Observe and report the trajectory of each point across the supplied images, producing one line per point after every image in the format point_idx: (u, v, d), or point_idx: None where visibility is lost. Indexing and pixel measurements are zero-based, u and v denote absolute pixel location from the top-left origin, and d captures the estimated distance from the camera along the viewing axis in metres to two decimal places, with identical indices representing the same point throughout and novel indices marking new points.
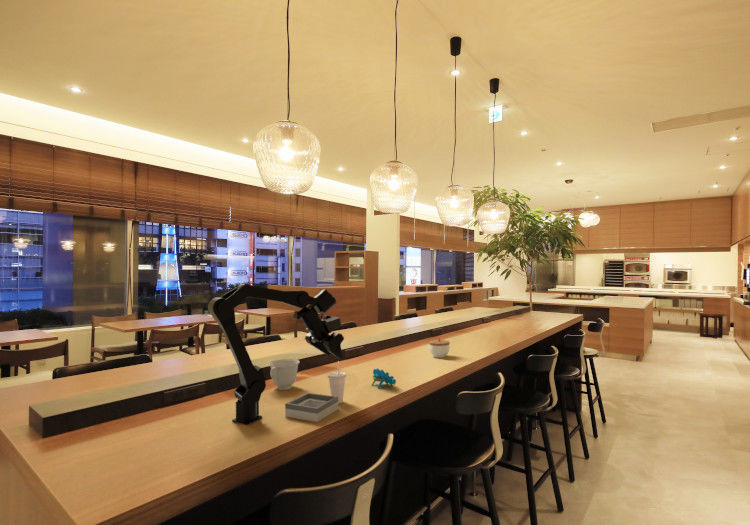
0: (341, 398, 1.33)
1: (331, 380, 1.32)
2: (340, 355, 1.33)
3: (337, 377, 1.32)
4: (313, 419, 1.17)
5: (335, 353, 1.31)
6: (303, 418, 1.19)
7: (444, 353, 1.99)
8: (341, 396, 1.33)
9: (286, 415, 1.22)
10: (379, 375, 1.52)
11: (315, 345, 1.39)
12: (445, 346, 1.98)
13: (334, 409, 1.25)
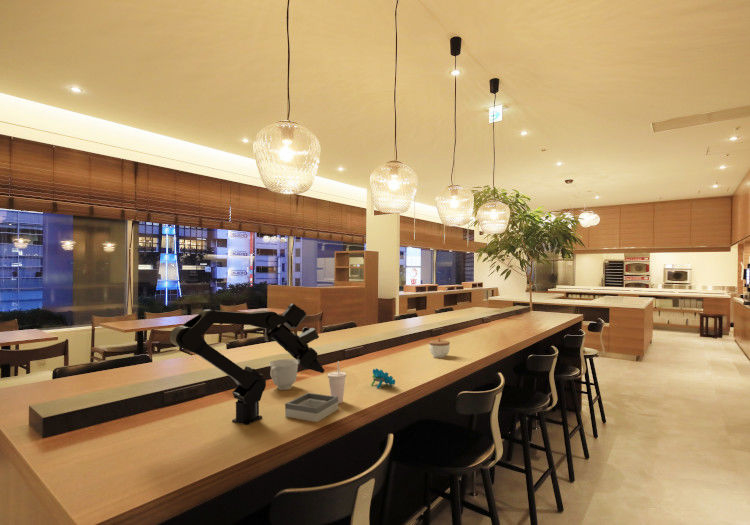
0: (341, 398, 1.33)
1: (331, 380, 1.32)
2: (320, 369, 1.27)
3: (337, 377, 1.32)
4: (313, 419, 1.17)
5: (313, 368, 1.26)
6: (303, 418, 1.19)
7: (444, 353, 1.99)
8: (341, 396, 1.33)
9: (286, 415, 1.22)
10: (379, 375, 1.52)
11: None
12: (445, 346, 1.98)
13: (334, 409, 1.25)
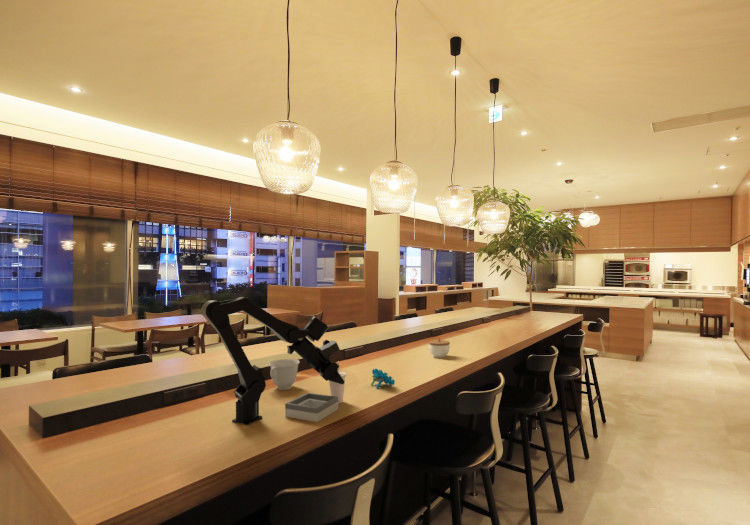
0: (341, 398, 1.33)
1: None
2: (340, 380, 1.31)
3: None
4: (313, 419, 1.17)
5: (334, 380, 1.29)
6: (303, 418, 1.19)
7: (444, 353, 1.99)
8: (341, 396, 1.33)
9: (286, 415, 1.22)
10: (378, 375, 1.52)
11: None
12: (445, 346, 1.98)
13: (334, 409, 1.25)
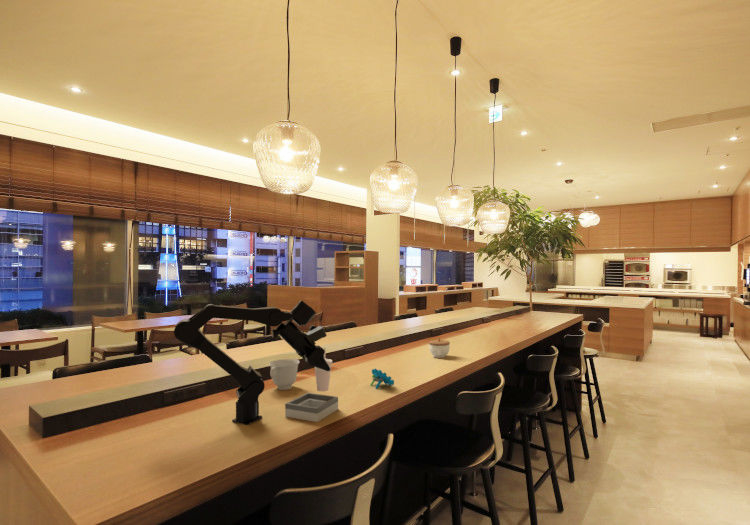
0: (327, 386, 1.28)
1: None
2: (326, 367, 1.26)
3: None
4: (313, 419, 1.17)
5: (319, 366, 1.24)
6: (303, 418, 1.19)
7: (444, 353, 1.99)
8: (327, 384, 1.28)
9: (286, 415, 1.22)
10: (378, 375, 1.52)
11: None
12: (445, 346, 1.98)
13: (334, 409, 1.25)
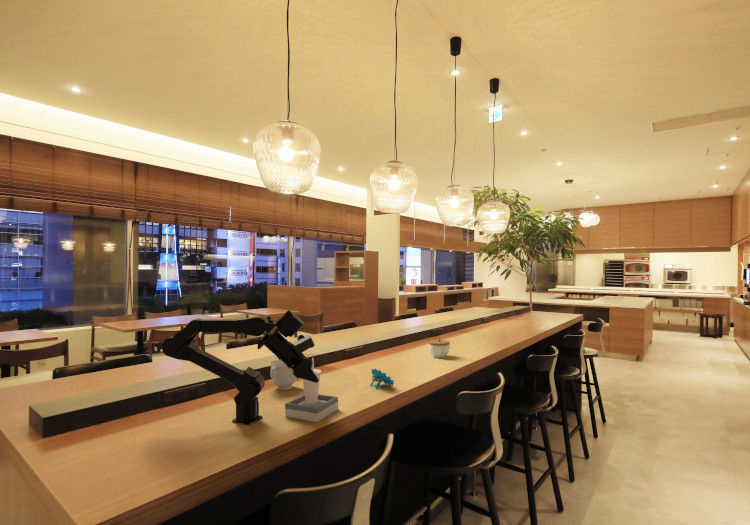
0: (315, 397, 1.23)
1: None
2: (314, 378, 1.21)
3: None
4: (313, 419, 1.17)
5: (307, 378, 1.20)
6: (303, 418, 1.19)
7: (444, 353, 1.99)
8: (315, 395, 1.23)
9: (286, 415, 1.22)
10: (377, 375, 1.52)
11: None
12: (445, 346, 1.98)
13: (334, 409, 1.25)
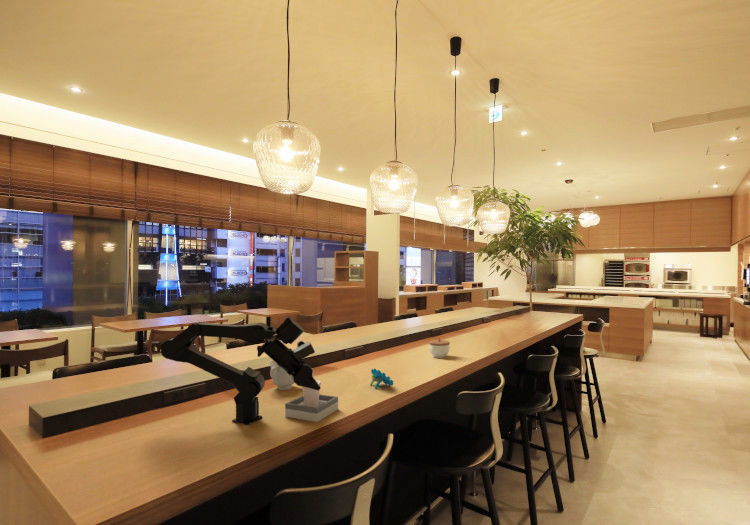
0: None
1: (304, 389, 1.22)
2: (316, 386, 1.20)
3: None
4: (313, 419, 1.17)
5: (308, 386, 1.18)
6: (303, 418, 1.19)
7: (444, 353, 1.99)
8: (315, 406, 1.23)
9: (286, 415, 1.22)
10: (377, 375, 1.52)
11: None
12: (445, 346, 1.98)
13: (334, 409, 1.25)
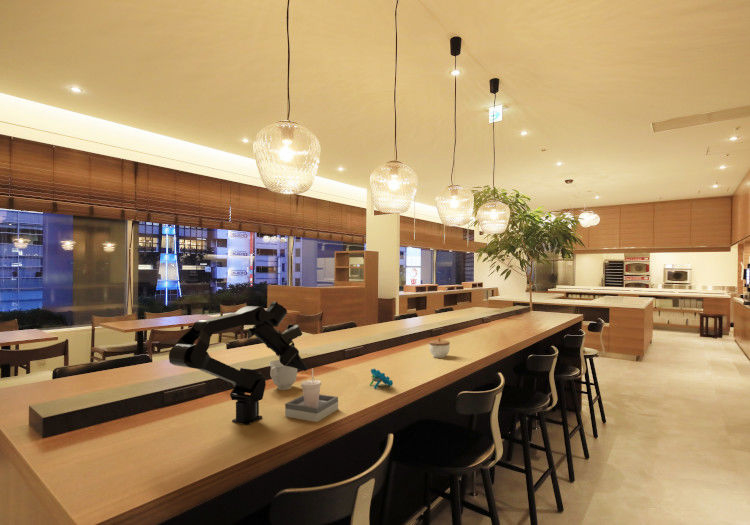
0: None
1: (304, 389, 1.22)
2: (303, 366, 1.25)
3: (311, 386, 1.22)
4: (313, 419, 1.17)
5: (295, 366, 1.24)
6: (303, 418, 1.19)
7: (444, 353, 1.99)
8: (315, 406, 1.23)
9: (286, 415, 1.22)
10: (377, 375, 1.52)
11: None
12: (445, 346, 1.98)
13: (334, 409, 1.25)
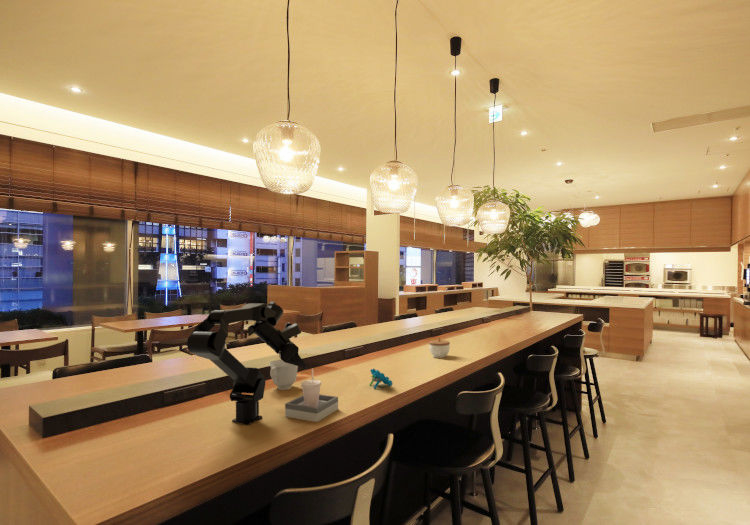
0: None
1: (304, 389, 1.22)
2: (302, 363, 1.28)
3: (310, 386, 1.22)
4: (313, 419, 1.17)
5: (294, 363, 1.27)
6: (303, 418, 1.19)
7: (444, 353, 1.99)
8: (315, 406, 1.23)
9: (286, 415, 1.22)
10: (376, 375, 1.52)
11: None
12: (445, 346, 1.98)
13: (334, 409, 1.25)
